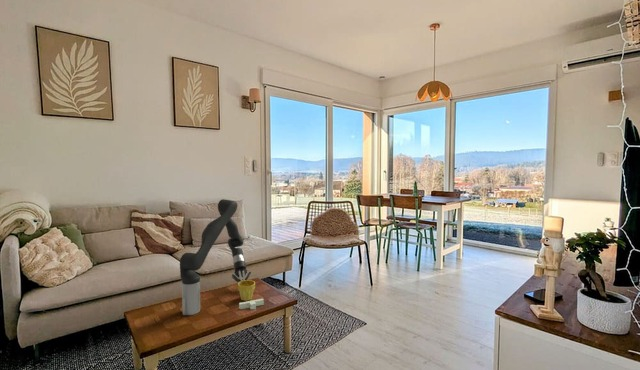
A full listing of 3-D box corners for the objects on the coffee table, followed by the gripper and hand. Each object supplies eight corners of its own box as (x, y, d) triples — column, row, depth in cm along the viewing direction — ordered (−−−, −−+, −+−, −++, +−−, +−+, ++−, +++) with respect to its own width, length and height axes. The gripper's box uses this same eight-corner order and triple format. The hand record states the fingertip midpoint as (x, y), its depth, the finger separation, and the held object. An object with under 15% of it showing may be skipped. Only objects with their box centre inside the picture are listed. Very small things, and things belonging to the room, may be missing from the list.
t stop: (241, 311, 174) (241, 306, 173) (239, 308, 178) (239, 302, 178) (265, 306, 180) (265, 301, 180) (262, 303, 184) (262, 298, 184)
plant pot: (252, 302, 186) (252, 286, 185) (235, 301, 186) (235, 286, 185) (256, 295, 196) (256, 280, 195) (240, 294, 196) (240, 279, 196)
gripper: (230, 261, 202) (233, 286, 192) (249, 259, 208) (254, 282, 198) (228, 267, 207) (232, 291, 197) (248, 264, 213) (252, 288, 203)
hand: (243, 287), depth 198 cm, fingers closed
